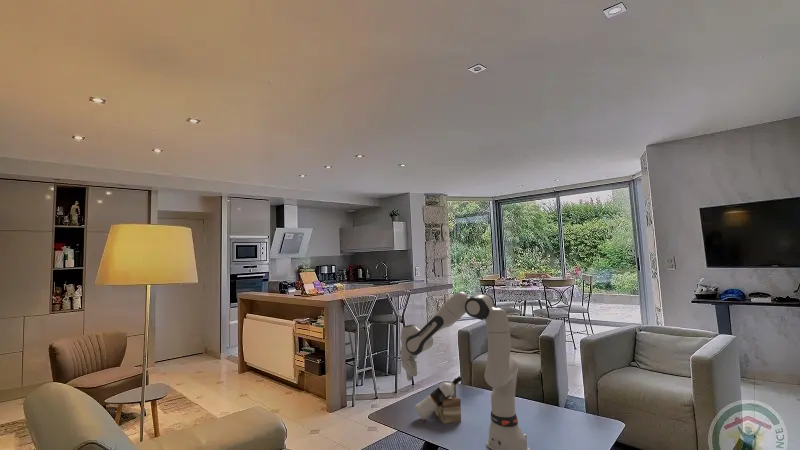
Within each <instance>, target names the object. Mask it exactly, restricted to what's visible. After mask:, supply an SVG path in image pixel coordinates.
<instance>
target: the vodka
mask: <svg viewBox="0 0 800 450" xmlns="http://www.w3.org/2000/svg"><path fill="white" fill-rule="evenodd" d="M455 378H456V379H455ZM455 378H454V379H455V380H454V379H453V380H454V381H453V380H452V381H451V382H446V381H443V382H442V383H441V384H440V385H439V386H438V387H437V388H435V389H433V390H434V391H433V390H432V392H431V393H430V394H428V395H427V396H426V397H425V398H424V399H423V400H421V401H419V402H417V403H416V404H415V406H414V408H415V411H416V413H418V415H419V416H420V418H421V419H422V420H423V421H427V420H428V419H429V417H430V416H431V415H432V414H433V413H434V411H435V410H436V409H437V408H438V407H440V406H441V405H442V399H449V398H450V397H451V396H453V394H454V387H455V386H456V387H457V386H458V384H459V383H460V382H462V381H463V379H462V377H461V376H460V375H459V376H458V377H455Z"/></svg>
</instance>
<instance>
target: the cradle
mask: <svg viewBox="0 0 800 450" xmlns="http://www.w3.org/2000/svg"><path fill="white" fill-rule="evenodd" d="M434 390H435V389H433V390H432V392H433V391H434ZM461 401H462V400H461V397H456V398H451V397H450V398H449V399H442V405H441V406H440V407H438V408H437V409H436V410H435V411H434V412H433V413H434V414H435V415H436V417H438V418H439V420H440V421H441V422H442V424H450V423H451V424H452V423H458V422H459V423H460V422H462V403H461Z"/></svg>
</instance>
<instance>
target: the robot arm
mask: <svg viewBox="0 0 800 450" xmlns="http://www.w3.org/2000/svg"><path fill="white" fill-rule="evenodd" d="M495 306H496V303H495V300H494V298H493V297H492V296H491V295H489V294H485V293H479V294H475V295H471V296H470V295H469V294H468V293H467V292H464V291H458V292H456V293H455V294H453V295H452V296H451V297H449V299H447V301H446V302H444V303H443V304H442V306H441V307H440V308H439V310H438V311H437V312H436V313H435V314H434V316H432V318H431V319H430V320H429V321H428V322H426V324H425V325H424V326H423V327H422V328H421V329H420V328H418V327H417V325H416V324H406V325H404V326H403V327H401V328H402V329H401V333H400V335H401V336H400V341H401V346H400V350H399V354H400V359H401V362H400V363H401V367H402V368H403V369H404V370H405V374H406V380H408V381H409V382H410V381H412V377H418V376H417V375H418V365H417V361H416V359H417V358H418V355H419V354H421V353H422V352H425V351H427V350H429V349H430V348H431V347H432V346H433V344H434V338H433V337H434V335H435V334H436V333H437V332H440V330H441V331H442V330H443V329H445V328H448V327H450V326H452V325H454V324H455V323H456V322H459V320H460V319H461V318H462V317H463V316H464V315H465V314H467V315H468V316H470V317H472V318H474V319H478V320H480V321H485V325H486V333H487V334H486V335H487V356H486V367H485V371H484V374H483V375H484V381H485V382H486V383H487V385H488V386H489V387H491V388H492V390H491V395H490V396H491V397H490V399H491V401H490V402H491V404H490V405H491V411H490V420H491V421H490V424H489V426H488V441H486V442H485V445H486V447H487V448H489V449H490V450H531V449H530V447H529V446H528V443H527V440H528V436H527V434H526V433H524V432H523V431H522V428H521V427H520V425H519V419H518V417H517V412H516V389H517V380H518V379H517V378H518V371H519V365H518V362H517V360H515V359H514V358H513V357H510V356H511V350H512V339H511V327H510V323H509V321H510V320H509V318H508V315H507V311H506V310H505V309H503V308H500V307H495Z"/></svg>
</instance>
